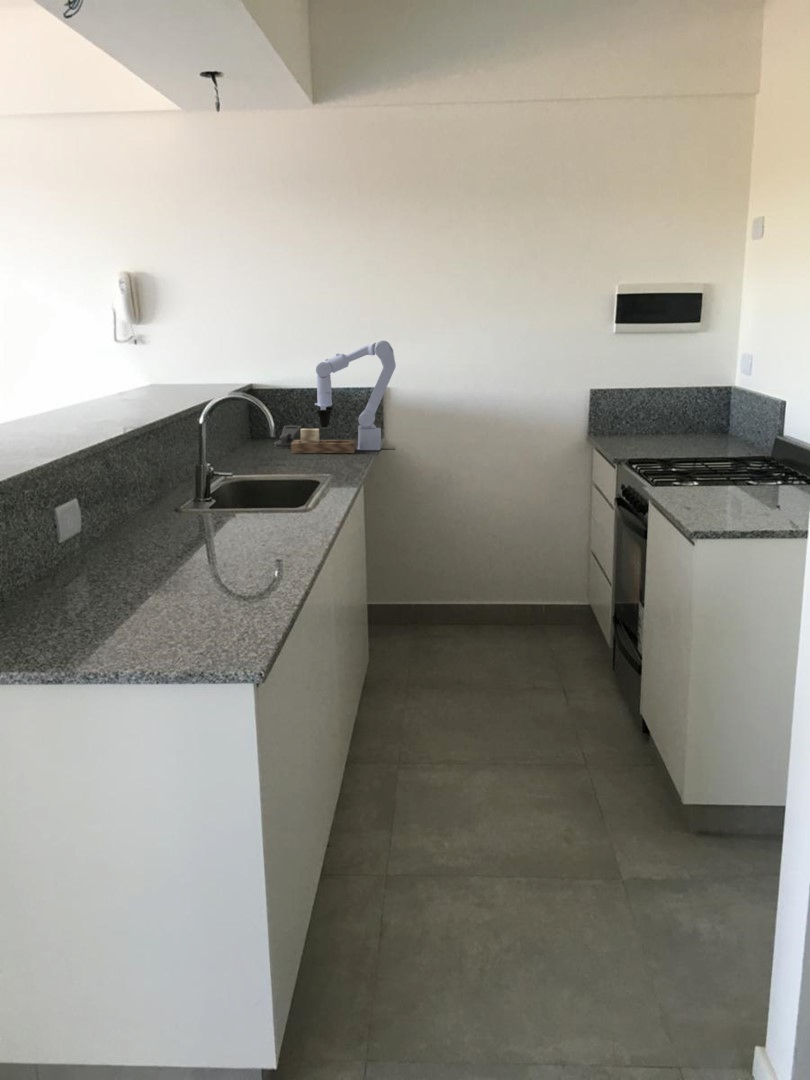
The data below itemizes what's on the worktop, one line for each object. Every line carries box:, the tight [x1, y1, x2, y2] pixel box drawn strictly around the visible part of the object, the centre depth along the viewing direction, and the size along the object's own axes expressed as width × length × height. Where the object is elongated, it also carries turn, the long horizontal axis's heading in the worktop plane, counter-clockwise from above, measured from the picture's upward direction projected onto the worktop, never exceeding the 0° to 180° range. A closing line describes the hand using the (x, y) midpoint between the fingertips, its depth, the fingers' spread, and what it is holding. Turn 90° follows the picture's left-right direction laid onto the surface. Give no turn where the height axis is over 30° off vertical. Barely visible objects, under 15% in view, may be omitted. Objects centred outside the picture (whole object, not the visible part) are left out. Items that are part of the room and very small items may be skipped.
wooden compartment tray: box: [290, 439, 357, 454], centre depth 366 cm, size 25×10×4 cm, turn 89°
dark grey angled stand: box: [273, 424, 303, 449], centre depth 386 cm, size 9×7×25 cm
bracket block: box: [299, 428, 320, 443], centre depth 365 cm, size 7×4×8 cm, turn 89°
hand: (325, 426), depth 371 cm, fingers open, 7 cm apart
